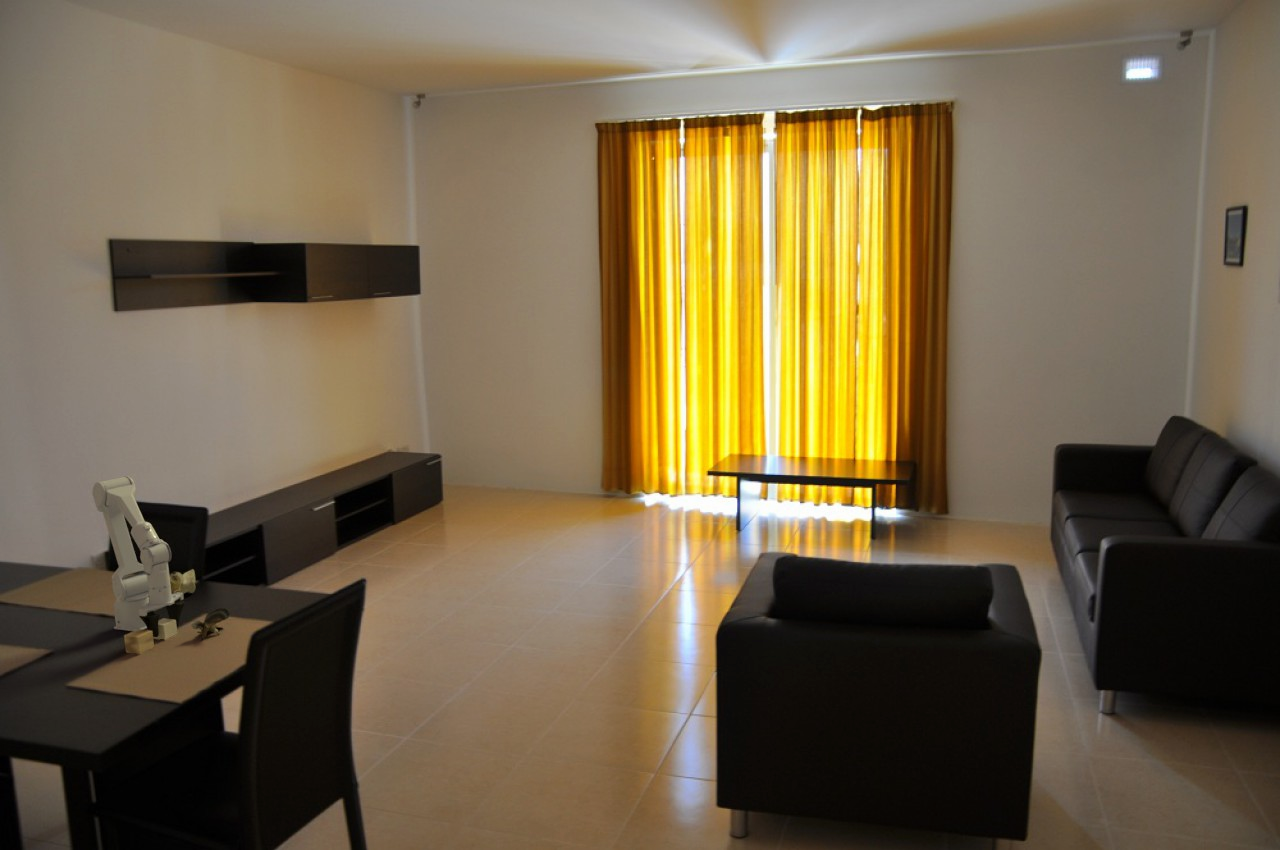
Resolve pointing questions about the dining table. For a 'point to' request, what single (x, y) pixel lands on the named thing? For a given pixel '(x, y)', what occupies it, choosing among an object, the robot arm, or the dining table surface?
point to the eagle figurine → (211, 621)
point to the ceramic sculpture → (182, 582)
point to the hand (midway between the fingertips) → (164, 631)
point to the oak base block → (139, 641)
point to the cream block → (166, 628)
